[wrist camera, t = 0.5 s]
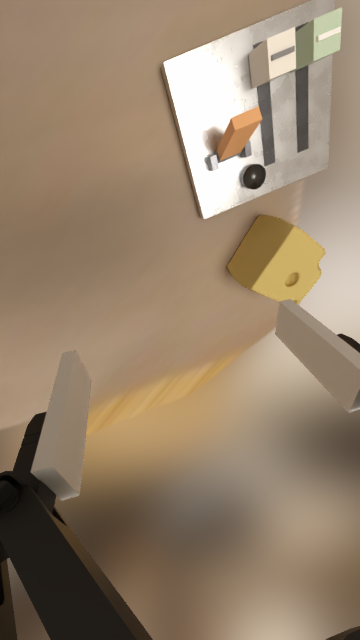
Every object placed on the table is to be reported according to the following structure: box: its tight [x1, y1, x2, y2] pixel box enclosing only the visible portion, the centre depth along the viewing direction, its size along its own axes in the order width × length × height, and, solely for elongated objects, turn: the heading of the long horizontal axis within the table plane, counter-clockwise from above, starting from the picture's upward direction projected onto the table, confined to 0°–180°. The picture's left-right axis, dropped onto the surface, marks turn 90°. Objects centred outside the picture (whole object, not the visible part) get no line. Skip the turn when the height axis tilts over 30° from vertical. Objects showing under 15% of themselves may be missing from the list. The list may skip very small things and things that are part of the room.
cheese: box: [227, 215, 325, 304], centre depth 39 cm, size 10×11×10 cm
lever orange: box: [215, 106, 262, 164], centre depth 28 cm, size 1×3×8 cm, turn 108°
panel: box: [161, 0, 335, 219], centre depth 31 cm, size 17×20×4 cm
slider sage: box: [291, 7, 342, 72], centre depth 26 cm, size 3×3×4 cm
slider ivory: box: [249, 27, 296, 89], centre depth 26 cm, size 3×3×4 cm
